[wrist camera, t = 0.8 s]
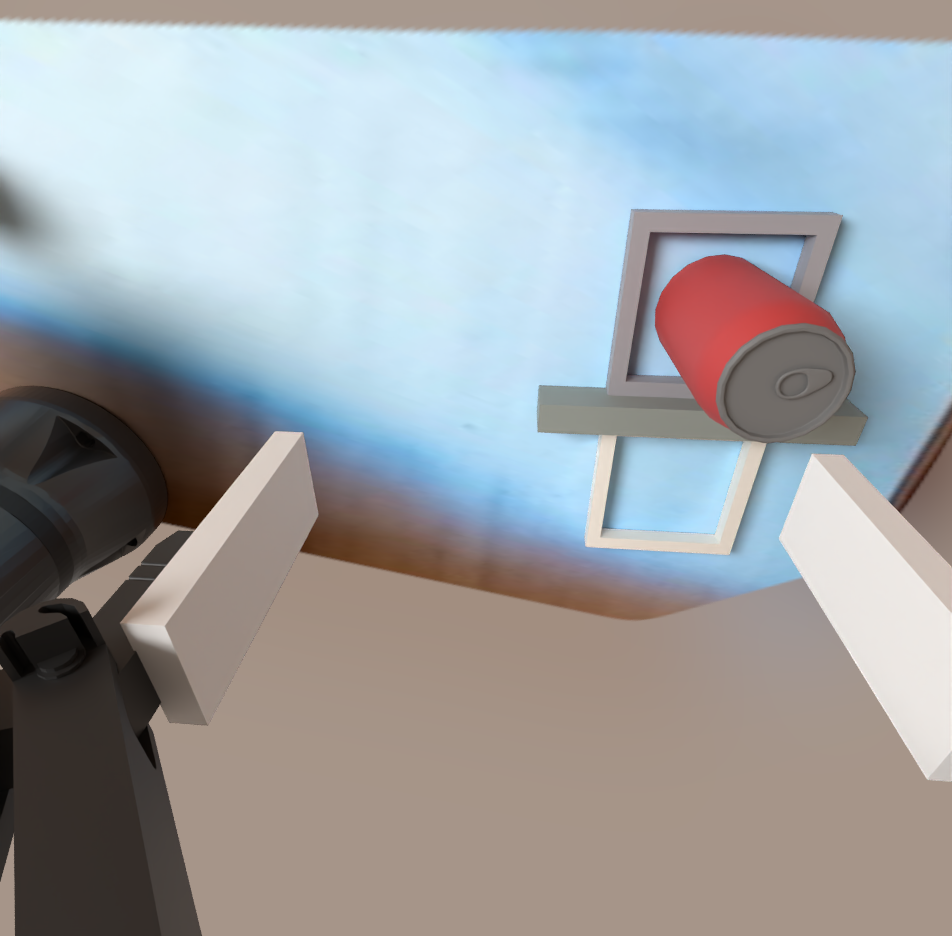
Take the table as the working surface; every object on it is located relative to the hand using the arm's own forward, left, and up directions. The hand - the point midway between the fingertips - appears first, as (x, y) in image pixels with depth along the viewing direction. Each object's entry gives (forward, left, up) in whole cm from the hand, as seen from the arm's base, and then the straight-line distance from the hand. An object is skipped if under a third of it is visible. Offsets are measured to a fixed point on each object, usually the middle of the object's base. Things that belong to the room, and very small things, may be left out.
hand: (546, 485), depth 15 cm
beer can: (+11, -1, -23) cm, 25 cm away
